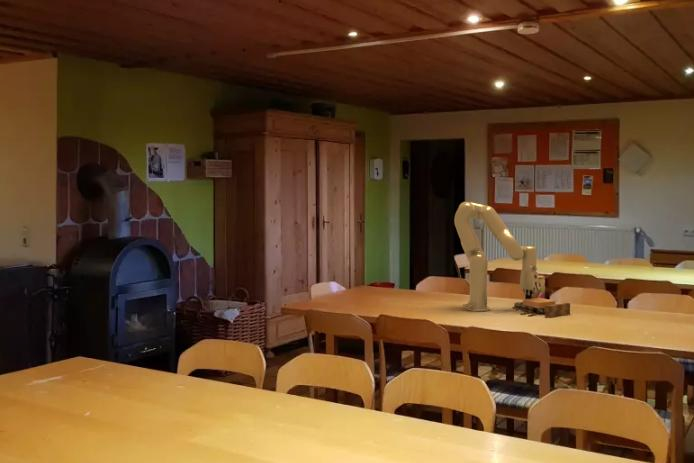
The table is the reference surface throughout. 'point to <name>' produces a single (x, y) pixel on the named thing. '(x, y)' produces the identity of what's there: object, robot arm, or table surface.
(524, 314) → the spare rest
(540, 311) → the roller
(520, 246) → the robot arm
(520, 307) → the roller track
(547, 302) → the slab
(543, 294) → the candy bar box
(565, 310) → the rail
